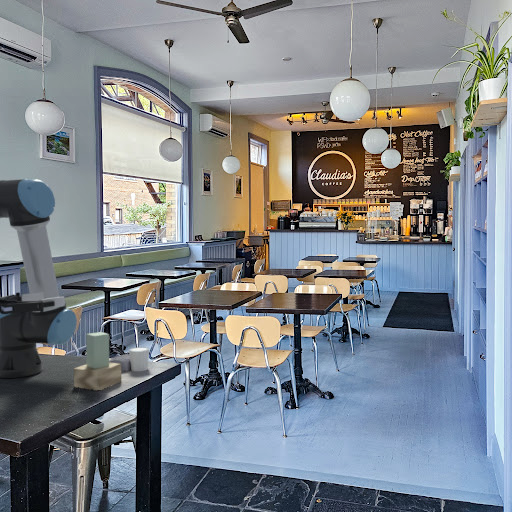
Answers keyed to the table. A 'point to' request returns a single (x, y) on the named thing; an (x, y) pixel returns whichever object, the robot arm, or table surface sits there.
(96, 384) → the oak block
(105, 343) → the sage block
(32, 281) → the robot arm
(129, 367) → the stone block
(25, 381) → the table surface
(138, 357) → the white cup
